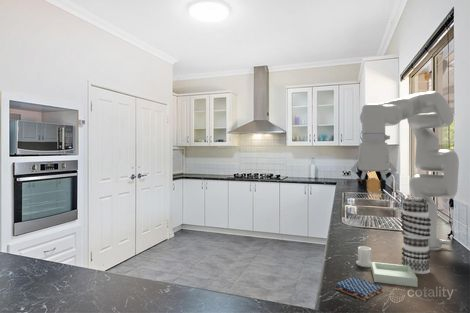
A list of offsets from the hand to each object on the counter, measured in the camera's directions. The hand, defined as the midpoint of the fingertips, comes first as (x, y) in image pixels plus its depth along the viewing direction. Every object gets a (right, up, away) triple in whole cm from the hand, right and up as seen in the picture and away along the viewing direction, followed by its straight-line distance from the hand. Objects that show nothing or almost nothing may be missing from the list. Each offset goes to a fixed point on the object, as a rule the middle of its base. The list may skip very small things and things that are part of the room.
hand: (373, 190), depth 111 cm
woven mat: (-12, -28, -18) cm, 36 cm away
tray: (+3, -28, -8) cm, 29 cm away
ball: (0, -1, 0) cm, 1 cm away
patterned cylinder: (+14, -28, -1) cm, 31 cm away
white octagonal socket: (-1, -28, +4) cm, 28 cm away
